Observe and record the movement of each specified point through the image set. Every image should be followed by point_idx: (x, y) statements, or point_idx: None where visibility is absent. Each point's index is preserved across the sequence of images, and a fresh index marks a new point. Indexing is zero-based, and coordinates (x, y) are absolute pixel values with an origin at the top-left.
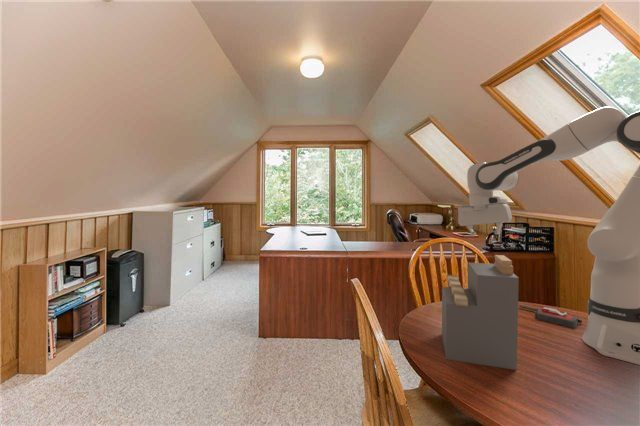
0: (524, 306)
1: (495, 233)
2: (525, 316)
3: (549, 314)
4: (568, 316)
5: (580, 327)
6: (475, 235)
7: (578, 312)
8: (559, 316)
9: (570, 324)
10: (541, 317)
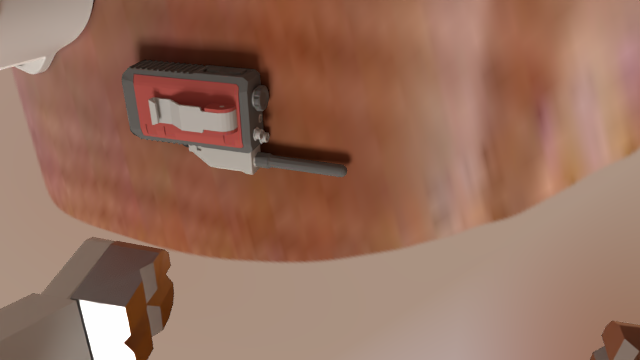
0: (323, 167)
1: (141, 251)
2: (301, 68)
3: (203, 86)
4: (149, 109)
5: None
6: (595, 353)
7: (181, 249)
8: (170, 85)
9: (144, 63)
10: (236, 70)
